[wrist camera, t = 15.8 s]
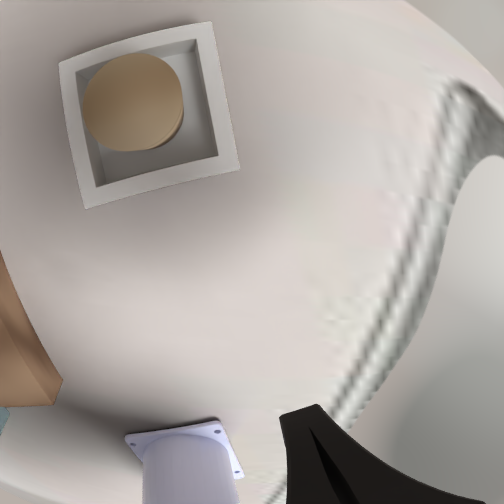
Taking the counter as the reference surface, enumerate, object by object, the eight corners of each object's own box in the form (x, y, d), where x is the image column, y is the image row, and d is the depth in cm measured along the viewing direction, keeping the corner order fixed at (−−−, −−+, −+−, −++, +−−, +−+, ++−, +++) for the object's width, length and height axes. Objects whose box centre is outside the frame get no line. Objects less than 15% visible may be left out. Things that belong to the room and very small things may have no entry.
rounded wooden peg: (190, 139, 14) (191, 136, 10) (122, 157, 14) (93, 163, 9) (176, 73, 13) (172, 42, 8) (108, 92, 13) (76, 72, 8)
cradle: (232, 166, 16) (240, 169, 13) (98, 200, 15) (85, 209, 12) (207, 37, 13) (211, 21, 11) (74, 73, 12) (58, 63, 10)
